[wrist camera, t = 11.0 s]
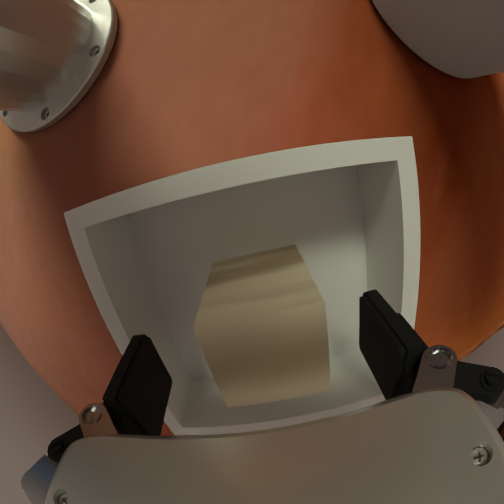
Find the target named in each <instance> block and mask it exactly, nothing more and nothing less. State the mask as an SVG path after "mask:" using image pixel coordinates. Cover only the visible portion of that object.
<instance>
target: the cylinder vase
mask: <svg viewBox="0 0 504 504" xmlns="http://www.w3.org/2000/svg"><path fill="white" fill-rule="evenodd" d="M372 2H373V4H374V5H375V7H376V9H377V11H378V12H379V14H380V15H381V17H382V18H383V19H384V21H385V22H386V23H387V25H388V26H389V27H390V28H391V30H392V31H393V32H394V33H395V34H396V35H397V36H398V37H399V38H400V39H401V40H402V42H404V44H406V45H407V46H408V47H409V48H410V49H411V50H412V51H413V52H414V53H415V54H417V55H418V56H419V57H420V58H422V59H423V60H424V61H426V62H427V63H429V64H430V65H432V66H433V67H435V68H436V69H438V70H440V71H442V72H444V73H446V74H449V75H451V76H454V77H458V78H466V79H469V78H475V77H480V76H485V75H490V74H496V73H501V72H504V0H372Z"/></svg>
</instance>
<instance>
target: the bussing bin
mask: <svg viewBox="0 0 504 504" xmlns="http://www.w3.org/2000/svg"><path fill="white" fill-rule="evenodd" d="M63 214H64V217H65V221H66V224H67V227H68V231H69V234H70V237H71V240H72V243H73V246H74V249H75V252H76V255H77V258H78V260H79V263H80V266H81V268H82V271H83V274H84V276H85V279H86V281H87V284H88V286H89V288H90V291H91V293H92V296H93V298H94V300H95V302H96V305H97V307H98V309H99V311H100V313H101V315H102V318H103V320H104V322H105V324H106V326H107V328H108V330H109V332H110V334H111V336H112V338H113V340H114V341H115V343H116V345H117V347H118V349H119V351H120V353H121V354H122V356H123V354H124V352H125V350H126V348H127V346H128V344H129V342H130V340H131V338H132V337H133V336H134V335H142V334H145V335H146V336H147V337H150V338H151V340H152V342H153V344H154V346H155V348H156V350H157V352H158V354H159V356H160V358H161V359H162V361H163V363H164V365H165V367H166V369H167V371H168V372H169V374H170V376H171V378H172V387H171V391H170V396H169V400H168V404H167V408H166V412H165V416H164V422H165V423H166V424H167V426H168V427H169V428H170V430H171V431H172V432H173V434H174V435H212V434H229V433H241V432H250V431H258V430H265V429H272V428H278V427H284V426H289V425H295V424H300V423H305V422H309V421H314V420H318V419H322V418H327V417H331V416H334V415H338V414H342V413H345V412H349V411H353V410H356V409H360V408H363V407H366V406H369V405H373V404H376V403H379V402H382V401H385V398H384V396H383V394H382V392H381V390H380V388H379V386H378V384H377V382H376V380H375V378H374V376H373V374H372V372H371V370H370V368H369V366H368V364H367V362H366V360H365V358H364V356H363V354H362V353H361V351H360V347H359V298H360V297H361V296H363V293H364V292H367V291H370V290H374V289H376V290H377V291H378V292H379V293H380V294H381V295H382V297H383V298H384V299H385V300H386V301H387V302H388V304H389V305H390V306H391V307H392V308H393V310H394V311H395V312H396V313H400V314H401V315H402V316H403V317H404V318H405V319H406V321H407V322H408V323H409V324H410V325H411V327H412V328H413V329H414V326H415V318H416V309H417V300H418V288H419V272H420V205H419V190H418V178H417V169H416V160H415V153H414V146H413V139H412V136H406V137H389V138H375V139H364V140H353V141H344V142H336V143H328V144H320V145H313V146H306V147H300V148H294V149H288V150H282V151H276V152H271V153H265V154H260V155H255V156H250V157H245V158H241V159H236V160H231V161H227V162H223V163H218V164H214V165H210V166H206V167H202V168H198V169H194V170H190V171H187V172H183V173H179V174H176V175H172V176H168V177H165V178H162V179H158V180H155V181H152V182H148V183H145V184H142V185H139V186H136V187H132V188H129V189H126V190H123V191H120V192H118V193H115V194H112V195H109V196H106V197H103V198H101V199H98V200H95V201H92V202H90V203H87V204H84V205H82V206H79V207H77V208H74V209H72V210H69V211H67V212H64V213H63ZM290 245H296V247H297V249H298V251H299V253H300V255H301V256H302V258H303V260H304V262H305V264H306V266H307V268H308V270H309V272H310V274H311V276H312V278H313V280H314V282H315V284H316V286H317V288H318V290H319V291H320V293H321V295H322V297H323V299H324V301H325V307H326V318H327V330H328V344H329V360H330V379H331V390H328V391H324V392H320V393H315V394H311V395H306V396H301V397H296V398H291V399H286V400H280V401H274V402H268V403H261V404H254V405H247V406H238V407H229V408H227V406H226V404H225V402H224V400H223V398H222V395H221V393H220V391H219V389H218V386H217V384H216V382H215V380H214V377H213V375H212V373H211V370H210V368H209V366H208V363H207V361H206V359H205V356H204V354H203V351H202V349H201V346H200V344H199V341H198V339H197V336H196V334H195V331H194V329H193V326H194V323H195V319H196V316H197V313H198V309H199V306H200V303H201V299H202V296H203V293H204V290H205V287H206V283H207V280H208V277H209V274H210V271H211V268H212V265H213V261H217V260H222V259H227V258H231V257H236V256H241V255H246V254H251V253H256V252H261V251H266V250H271V249H275V248H280V247H285V246H290Z"/></svg>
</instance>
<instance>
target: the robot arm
mask: <svg viewBox="0 0 504 504" xmlns="http://www.w3.org/2000/svg"><path fill="white" fill-rule="evenodd" d="M117 22H118V17H117V12H116V7H115V6H114V4H113V2H112V1H111V0H0V116H1V118H2V120H3V122H4V123H5V124H6V125H7V126H8V127H9V128H11V129H13V130H14V131H19V132H36V131H39V130H42V129H45V128H47V127H49V126H51V125H53V124H54V123H56V122H57V121H59V120H60V119H61V118H63V117H64V116H65V115H66V114H68V113H69V112H70V111H71V110H72V109H73V108H74V107H75V106H76V105H77V104H78V103H79V102H80V100H81V99H82V98H83V96H84V95H85V94H86V93H87V92H88V90H89V89H90V88H91V86H92V85H93V83H94V82H95V80H96V79H97V77H98V76H99V74H100V72H101V70H102V68H103V67H104V65H105V63H106V61H107V59H108V57H109V54H110V52H111V49H112V47H113V44H114V40H115V36H116V32H117ZM359 347H360V351H361V353H362V354H363V356H364V358H365V360H366V362H367V364H368V366H369V368H370V370H371V372H372V374H373V376H374V378H375V380H376V382H377V384H378V386H379V388H380V390H381V392H382V394H383V396H384V398H385V401H382V402H379V403H376V404H373V405H369V406H366V407H363V408H360V409H356V410H353V411H349V412H345V413H342V414H338V415H334V416H331V417H327V418H322V419H318V420H314V421H309V422H305V423H300V424H295V425H289V426H284V427H278V428H272V429H265V430H258V431H250V432H241V433H231V434H218V435H200V436H160V434H161V429H162V425H163V421H164V416H165V412H166V408H167V404H168V400H169V396H170V391H171V387H172V378H171V376H170V374H169V372H168V371H167V369H166V367H165V365H164V363H163V361H162V359H161V358H160V356H159V354H158V352H157V350H156V348H155V346H154V344H153V342H152V340H151V338H150V337H147V336H146V335H145V334H142V335H134V336H133V337H132V338H131V340H130V342H129V344H128V346H127V348H126V350H125V352H124V354H123V356H122V358H121V360H120V362H119V364H118V366H117V368H116V370H115V372H114V375H113V377H112V379H111V381H110V383H109V385H108V387H107V389H106V392H105V394H104V396H103V398H102V399H103V400H104V402H103V404H101V403H91V404H89V405H87V406H86V407H84V408H83V410H82V411H81V412H80V415H79V423H80V424H79V425H77V426H76V427H74V428H73V429H71V430H69V431H67V432H66V433H64V434H62V435H60V436H59V437H57V438H55V439H54V440H52V442H51V443H50V444H49V446H48V456H46V455H44V456H43V457H41V458H40V460H38V461H37V462H36V463H35V464H34V465H33V466H32V467H31V468H30V469H29V470H28V471H27V472H26V473H25V474H24V475H23V477H22V480H21V485H22V488H23V489H24V491H25V493H26V494H27V496H28V498H29V499H30V501H31V502H32V504H504V373H503V372H502V371H501V370H499V369H497V368H494V367H488V366H482V365H476V364H471V363H465V362H460V361H457V356H456V354H455V352H454V351H453V350H452V349H451V348H449V347H447V346H444V345H435V346H431V347H429V348H428V346H427V345H426V344H425V343H424V341H423V340H422V339H421V338H420V336H419V335H418V334H417V333H416V332H415V330H414V329H413V328H412V327H411V325H410V324H409V323H408V322H407V321H406V319H405V318H404V317H403V316H402V315H401V314H400V313H396V312H395V311H394V310H393V308H392V307H391V306H390V305H389V304H388V302H387V301H386V300H385V299H384V298H383V297H382V295H381V294H380V293H379V292H378V291H377V290H376V289H374V290H370V291H367V292H364V293H363V296H361V297H360V298H359Z"/></svg>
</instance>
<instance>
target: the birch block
mask: <svg viewBox="0 0 504 504" xmlns="http://www.w3.org/2000/svg"><path fill="white" fill-rule="evenodd" d="M193 329H194V331H195V334H196V336H197V339H198V341H199V344H200V346H201V349H202V351H203V354H204V356H205V359H206V361H207V363H208V366H209V368H210V370H211V373H212V375H213V377H214V380H215V382H216V384H217V386H218V389H219V391H220V393H221V395H222V398H223V400H224V402H225V404H226V406H227V408H229V407H238V406H247V405H254V404H261V403H268V402H274V401H280V400H286V399H291V398H296V397H301V396H306V395H311V394H315V393H320V392H324V391H328V390H331V379H330V360H329V344H328V330H327V318H326V307H325V301H324V299H323V297H322V295H321V293H320V291H319V290H318V288H317V286H316V284H315V282H314V280H313V278H312V276H311V274H310V272H309V270H308V268H307V266H306V264H305V262H304V260H303V258H302V256H301V255H300V253H299V251H298V249H297V247H296V245H290V246H285V247H280V248H275V249H271V250H266V251H261V252H256V253H251V254H246V255H241V256H236V257H231V258H227V259H222V260H217V261H213V265H212V268H211V271H210V274H209V277H208V280H207V283H206V287H205V290H204V293H203V296H202V299H201V303H200V306H199V309H198V313H197V316H196V319H195V323H194V326H193Z"/></svg>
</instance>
